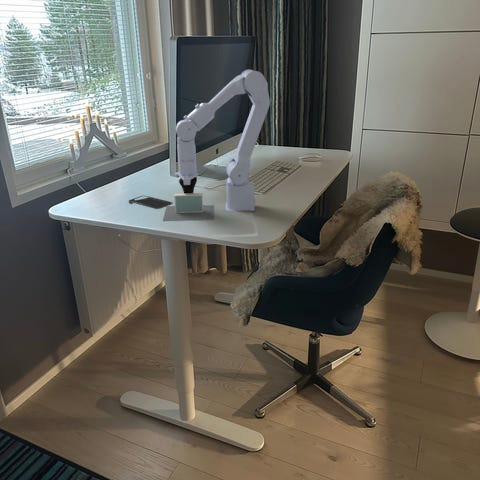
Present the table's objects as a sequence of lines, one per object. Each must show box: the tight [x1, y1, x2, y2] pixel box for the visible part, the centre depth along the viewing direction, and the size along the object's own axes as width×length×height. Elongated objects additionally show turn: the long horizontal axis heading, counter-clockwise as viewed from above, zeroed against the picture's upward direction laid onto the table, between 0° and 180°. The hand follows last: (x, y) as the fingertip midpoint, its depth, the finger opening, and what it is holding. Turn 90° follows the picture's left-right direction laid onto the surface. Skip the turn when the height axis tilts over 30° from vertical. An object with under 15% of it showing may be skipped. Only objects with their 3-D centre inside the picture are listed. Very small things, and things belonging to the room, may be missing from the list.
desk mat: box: [162, 204, 215, 222], centre depth 148 cm, size 16×14×1 cm
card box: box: [173, 192, 204, 213], centre depth 148 cm, size 9×2×6 cm, turn 93°
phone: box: [128, 195, 173, 210], centre depth 159 cm, size 8×1×15 cm
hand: (189, 200), depth 150 cm, fingers closed
